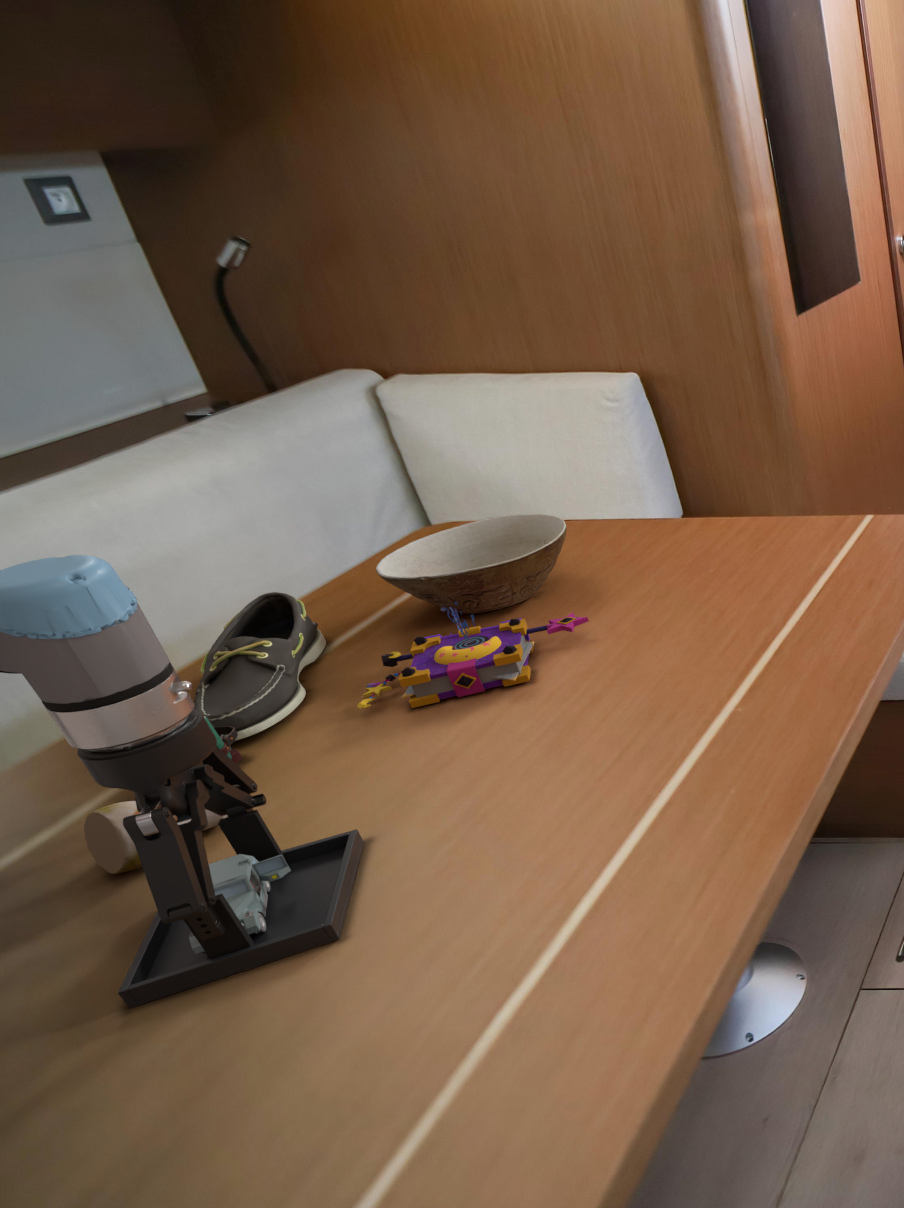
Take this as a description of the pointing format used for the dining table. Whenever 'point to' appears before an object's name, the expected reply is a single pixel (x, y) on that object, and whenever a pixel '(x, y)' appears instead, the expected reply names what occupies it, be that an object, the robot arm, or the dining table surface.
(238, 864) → the toy car
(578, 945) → the dining table surface
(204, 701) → the boat shoe
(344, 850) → the tray
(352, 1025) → the dining table surface
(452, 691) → the purple toy
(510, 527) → the bowl
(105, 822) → the mug
